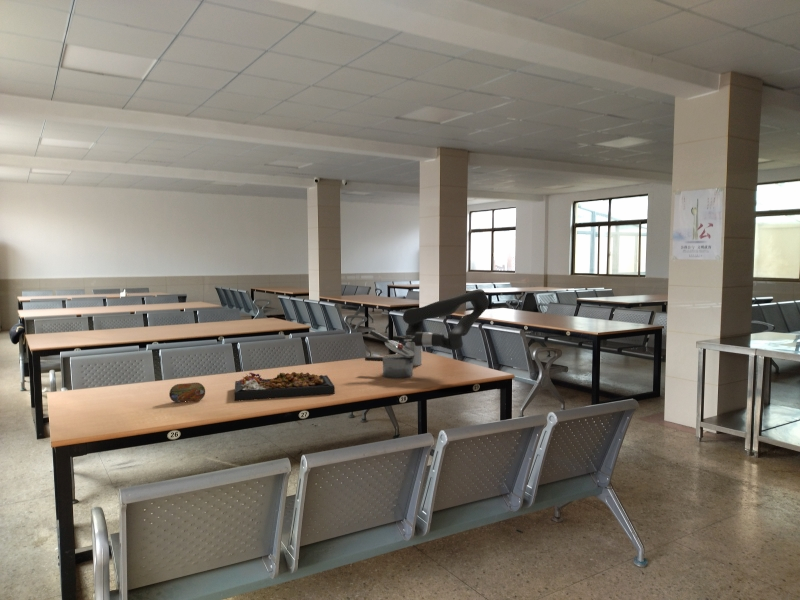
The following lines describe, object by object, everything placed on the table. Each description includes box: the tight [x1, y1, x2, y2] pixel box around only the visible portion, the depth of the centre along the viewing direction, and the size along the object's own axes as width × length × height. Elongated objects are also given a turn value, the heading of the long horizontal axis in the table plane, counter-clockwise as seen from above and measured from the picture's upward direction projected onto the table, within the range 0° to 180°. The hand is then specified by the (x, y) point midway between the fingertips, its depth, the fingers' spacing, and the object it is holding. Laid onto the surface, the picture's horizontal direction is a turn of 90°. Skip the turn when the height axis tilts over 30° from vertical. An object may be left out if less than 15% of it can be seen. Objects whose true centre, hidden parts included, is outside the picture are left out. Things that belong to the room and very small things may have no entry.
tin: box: [169, 382, 206, 403], centre depth 257 cm, size 15×3×8 cm, turn 106°
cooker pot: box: [364, 353, 415, 380], centre depth 310 cm, size 27×16×10 cm, turn 73°
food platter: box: [234, 369, 336, 402], centre depth 275 cm, size 45×25×10 cm, turn 105°
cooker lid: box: [369, 329, 415, 359], centre depth 308 cm, size 27×17×3 cm, turn 73°
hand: (393, 338), depth 308 cm, fingers closed
